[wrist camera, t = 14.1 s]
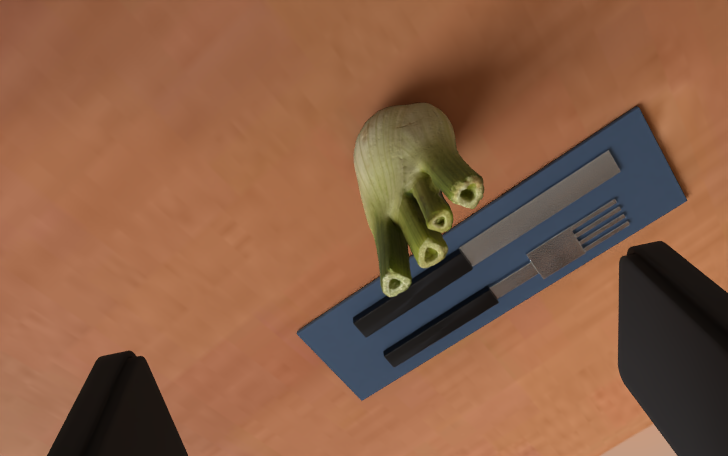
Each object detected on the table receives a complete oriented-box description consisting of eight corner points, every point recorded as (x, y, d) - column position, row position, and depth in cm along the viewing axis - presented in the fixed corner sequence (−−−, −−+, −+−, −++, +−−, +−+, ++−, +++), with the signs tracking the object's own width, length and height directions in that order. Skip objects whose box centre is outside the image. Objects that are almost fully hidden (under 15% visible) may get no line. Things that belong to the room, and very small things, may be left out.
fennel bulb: (371, 202, 33) (393, 319, 23) (328, 130, 32) (330, 220, 21) (461, 154, 33) (530, 252, 22) (423, 77, 31) (477, 142, 20)
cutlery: (397, 367, 38) (398, 374, 38) (351, 316, 36) (351, 322, 36) (643, 214, 35) (649, 219, 34) (607, 148, 33) (612, 152, 32)
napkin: (361, 398, 40) (361, 401, 39) (296, 331, 37) (296, 334, 37) (684, 198, 35) (687, 200, 34) (636, 105, 32) (639, 107, 32)
